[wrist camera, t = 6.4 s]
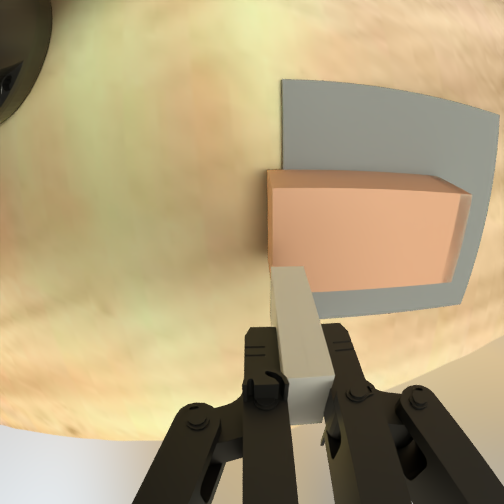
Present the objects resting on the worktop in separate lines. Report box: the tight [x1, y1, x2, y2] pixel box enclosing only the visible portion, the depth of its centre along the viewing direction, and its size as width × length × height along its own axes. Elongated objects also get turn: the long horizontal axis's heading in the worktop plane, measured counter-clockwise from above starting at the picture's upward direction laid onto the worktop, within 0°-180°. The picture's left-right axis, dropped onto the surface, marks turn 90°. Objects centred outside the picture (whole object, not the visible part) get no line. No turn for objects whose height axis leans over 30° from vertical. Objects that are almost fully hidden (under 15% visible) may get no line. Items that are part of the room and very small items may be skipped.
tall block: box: [267, 170, 472, 292], centre depth 21 cm, size 7×5×14 cm
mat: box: [282, 79, 500, 319], centre depth 23 cm, size 20×20×1 cm
